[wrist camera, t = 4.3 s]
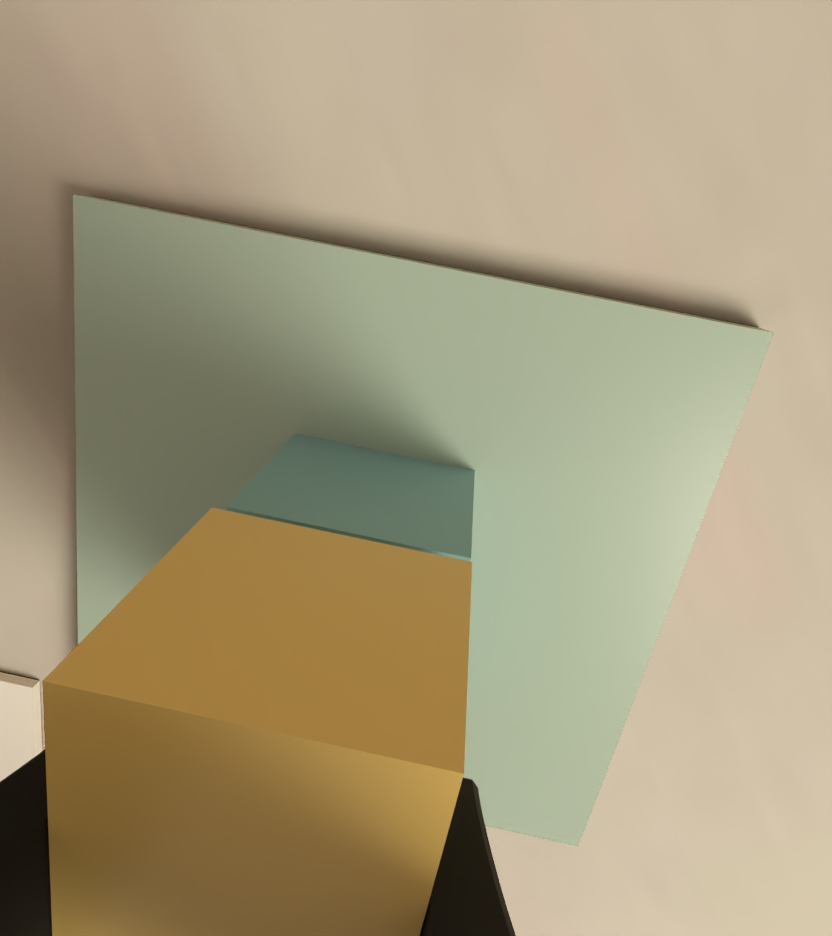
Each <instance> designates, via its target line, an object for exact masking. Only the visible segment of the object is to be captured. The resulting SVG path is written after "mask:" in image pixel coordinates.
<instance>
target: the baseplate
mask: <svg viewBox="0 0 832 936" xmlns="http://www.w3.org/2000/svg"><path fill="white" fill-rule="evenodd" d="M73 259H74V348H75V437H76V526H77V615H78V644H79V643H80V642H81V641H82V640H83V639H84V638H85V637H86V636H87V635H88V634H89V633H90V632H91V631H92V630H93V629H94V628H95V627H96V626H97V625H98V624H99V623H100V622H101V621H102V620H103V619H104V618H105V617H106V616H107V615H108V614H109V612H110V611H111V610H112V609H113V608H114V607H115V606H116V605H117V604H118V603H119V602H120V601H121V600H122V599H123V598H124V597H125V596H126V595H127V594H128V593H129V592H130V591H131V590H132V589H133V588H134V587H135V586H136V585H137V584H138V583H139V582H140V581H141V580H142V579H143V578H144V577H145V576H146V575H147V574H148V573H149V571H150V570H151V569H152V568H153V567H154V566H155V565H156V564H157V563H158V562H159V561H160V560H161V559H162V558H163V557H164V556H165V555H166V554H167V553H168V552H169V551H170V550H171V549H172V548H173V547H174V546H175V545H176V544H177V543H178V542H179V541H180V540H181V539H182V538H183V537H184V536H185V535H186V534H187V533H188V532H189V530H190V529H191V528H192V527H193V526H194V525H195V524H196V523H197V522H198V521H199V520H200V519H201V518H202V517H203V516H204V515H205V514H206V513H207V512H208V511H209V510H210V509H211V508H217V509H222V510H227V507H228V506H229V504H230V503H231V502H232V501H233V500H234V499H235V498H236V497H237V496H238V495H239V494H240V493H241V491H242V490H243V489H244V488H245V487H246V486H247V485H248V484H249V483H250V482H251V481H252V480H253V478H254V477H255V476H256V475H257V474H258V473H259V472H260V471H261V470H262V469H263V468H264V467H265V466H266V464H267V463H268V462H269V461H270V460H271V459H272V458H273V457H274V456H275V455H276V454H277V453H278V451H279V450H280V449H281V448H282V447H283V446H284V445H285V444H286V443H287V442H288V441H289V440H290V438H291V437H292V436H293V435H294V434H295V433H296V434H301V435H305V436H310V437H315V438H320V439H325V440H330V441H335V442H339V443H344V444H349V445H354V446H359V447H364V448H368V449H373V450H378V451H383V452H388V453H393V454H398V455H402V456H407V457H412V458H417V459H422V460H427V461H431V462H436V463H441V464H446V465H451V466H456V467H461V468H465V469H470V470H475V476H474V500H473V525H472V549H471V561H470V562H472V580H471V606H470V632H469V658H468V684H467V709H466V735H465V761H464V776H463V778H468V779H472V780H473V781H474V783H475V784H476V786H477V787H478V791H479V798H480V804H481V809H482V814H483V819H484V823H485V826H489V827H493V828H498V829H502V830H506V831H511V832H515V833H520V834H524V835H529V836H533V837H538V838H542V839H547V840H551V841H556V842H560V843H565V844H569V845H574V846H579V843H580V840H581V838H582V835H583V832H584V830H585V827H586V825H587V822H588V819H589V817H590V814H591V811H592V809H593V806H594V804H595V801H596V798H597V796H598V793H599V790H600V788H601V785H602V783H603V780H604V777H605V775H606V772H607V769H608V767H609V764H610V761H611V759H612V756H613V754H614V751H615V748H616V746H617V743H618V740H619V738H620V735H621V733H622V730H623V727H624V725H625V722H626V719H627V717H628V714H629V712H630V709H631V706H632V704H633V701H634V698H635V696H636V693H637V691H638V688H639V685H640V683H641V680H642V677H643V675H644V672H645V670H646V667H647V664H648V662H649V659H650V656H651V654H652V651H653V649H654V646H655V643H656V641H657V638H658V635H659V633H660V630H661V628H662V625H663V622H664V620H665V617H666V614H667V612H668V609H669V607H670V604H671V601H672V599H673V596H674V593H675V591H676V588H677V586H678V583H679V580H680V578H681V575H682V572H683V570H684V567H685V565H686V562H687V559H688V557H689V554H690V551H691V549H692V546H693V544H694V541H695V538H696V536H697V533H698V530H699V528H700V525H701V523H702V520H703V517H704V515H705V512H706V509H707V507H708V504H709V502H710V499H711V496H712V494H713V491H714V488H715V486H716V483H717V481H718V478H719V475H720V473H721V470H722V467H723V465H724V462H725V460H726V457H727V454H728V452H729V449H730V446H731V444H732V441H733V439H734V436H735V433H736V431H737V428H738V425H739V423H740V420H741V418H742V415H743V412H744V410H745V407H746V404H747V402H748V399H749V397H750V394H751V391H752V389H753V386H754V383H755V381H756V378H757V376H758V373H759V370H760V368H761V365H762V362H763V360H764V357H765V355H766V352H767V349H768V347H769V344H770V341H771V339H772V336H773V334H774V333H773V332H770V331H767V330H764V329H762V328H757V327H752V326H747V325H742V324H737V323H732V322H726V321H721V320H716V319H711V318H706V317H701V316H696V315H691V314H686V313H681V312H676V311H671V310H666V309H661V308H655V307H650V306H645V305H640V304H635V303H630V302H625V301H620V300H615V299H610V298H605V297H600V296H595V295H590V294H584V293H579V292H574V291H569V290H564V289H559V288H554V287H549V286H544V285H539V284H534V283H529V282H524V281H519V280H513V279H508V278H503V277H498V276H493V275H488V274H483V273H478V272H473V271H468V270H463V269H458V268H453V267H448V266H442V265H437V264H432V263H427V262H422V261H417V260H412V259H407V258H402V257H397V256H392V255H387V254H382V253H377V252H371V251H366V250H361V249H356V248H351V247H346V246H341V245H336V244H331V243H326V242H321V241H316V240H311V239H306V238H300V237H295V236H290V235H285V234H280V233H275V232H270V231H265V230H260V229H255V228H250V227H245V226H240V225H235V224H229V223H224V222H219V221H214V220H209V219H204V218H199V217H194V216H189V215H184V214H179V213H174V212H169V211H164V210H158V209H153V208H148V207H143V206H138V205H133V204H128V203H123V202H118V201H113V200H108V199H103V198H98V197H93V196H84V195H73Z"/></svg>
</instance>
